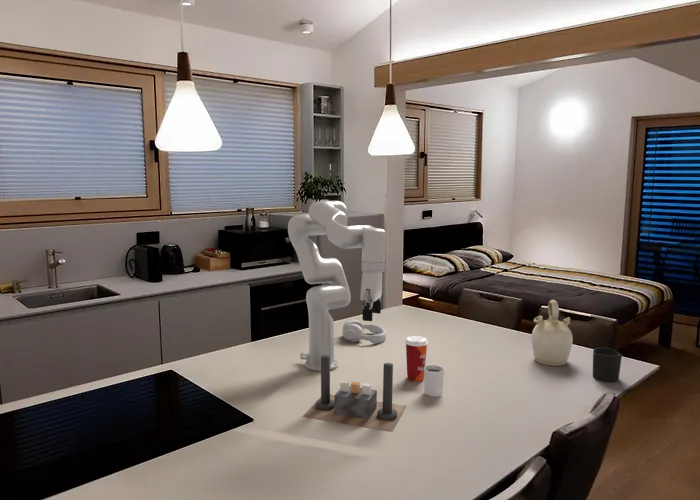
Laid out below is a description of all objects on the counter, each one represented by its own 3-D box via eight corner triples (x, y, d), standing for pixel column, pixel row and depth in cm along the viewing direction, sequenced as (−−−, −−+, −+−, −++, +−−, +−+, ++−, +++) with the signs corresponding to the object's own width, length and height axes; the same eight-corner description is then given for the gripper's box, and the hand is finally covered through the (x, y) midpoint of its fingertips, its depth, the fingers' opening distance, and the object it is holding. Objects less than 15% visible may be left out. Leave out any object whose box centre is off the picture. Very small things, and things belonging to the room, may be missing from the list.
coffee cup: (426, 383, 189) (427, 343, 187) (403, 381, 191) (404, 341, 189) (427, 375, 197) (428, 336, 195) (405, 373, 199) (406, 334, 197)
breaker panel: (302, 421, 160) (301, 397, 159) (324, 397, 177) (324, 376, 176) (392, 436, 151) (392, 411, 150) (406, 410, 168) (407, 387, 167)
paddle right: (362, 394, 161) (361, 385, 160) (363, 391, 163) (363, 383, 162) (369, 395, 161) (369, 386, 160) (371, 392, 162) (370, 384, 161)
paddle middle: (351, 392, 163) (350, 384, 162) (352, 389, 164) (352, 381, 163) (358, 393, 162) (358, 385, 161) (360, 390, 163) (359, 382, 162)
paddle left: (340, 390, 164) (339, 382, 163) (342, 388, 165) (341, 379, 164) (348, 391, 163) (347, 383, 162) (349, 389, 164) (348, 381, 163)
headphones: (340, 343, 232) (385, 350, 232) (343, 326, 231) (388, 333, 231) (341, 331, 250) (383, 337, 250) (344, 315, 249) (386, 321, 249)
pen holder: (623, 377, 196) (625, 351, 195) (614, 385, 189) (617, 358, 188) (596, 371, 202) (598, 346, 201) (587, 378, 196) (589, 351, 194)
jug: (529, 364, 209) (532, 302, 206) (531, 352, 223) (534, 294, 220) (571, 370, 204) (575, 306, 200) (571, 357, 218) (575, 297, 214)
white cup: (430, 402, 174) (431, 373, 172) (419, 395, 179) (419, 366, 178) (447, 398, 177) (448, 370, 175) (435, 391, 183) (436, 363, 181)
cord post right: (374, 418, 159) (375, 366, 156) (380, 410, 164) (381, 360, 162) (394, 421, 157) (395, 369, 154) (399, 413, 162) (400, 362, 160)
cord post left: (312, 408, 165) (312, 358, 163) (320, 401, 171) (320, 352, 168) (330, 411, 163) (330, 360, 161) (337, 403, 169) (337, 354, 167)
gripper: (369, 260, 183) (368, 309, 186) (353, 269, 167) (352, 322, 170) (391, 262, 181) (389, 311, 183) (376, 271, 164) (375, 325, 167)
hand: (371, 316), depth 176 cm, fingers open, 9 cm apart
